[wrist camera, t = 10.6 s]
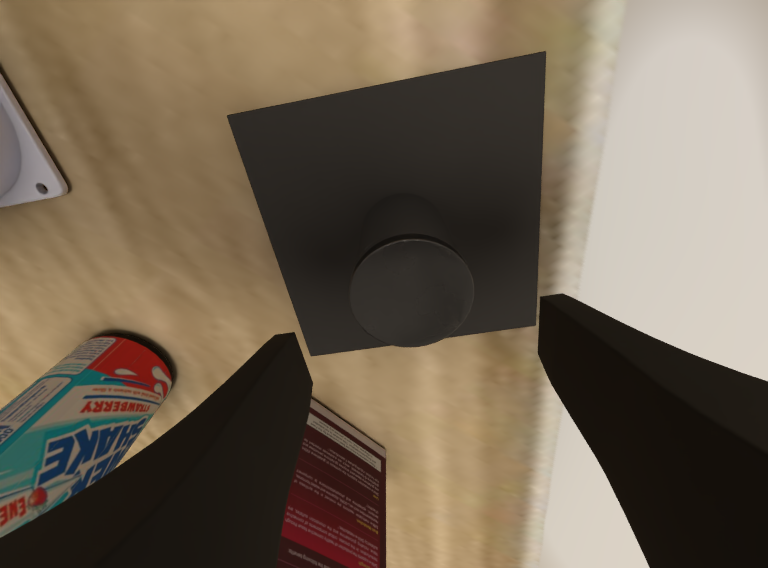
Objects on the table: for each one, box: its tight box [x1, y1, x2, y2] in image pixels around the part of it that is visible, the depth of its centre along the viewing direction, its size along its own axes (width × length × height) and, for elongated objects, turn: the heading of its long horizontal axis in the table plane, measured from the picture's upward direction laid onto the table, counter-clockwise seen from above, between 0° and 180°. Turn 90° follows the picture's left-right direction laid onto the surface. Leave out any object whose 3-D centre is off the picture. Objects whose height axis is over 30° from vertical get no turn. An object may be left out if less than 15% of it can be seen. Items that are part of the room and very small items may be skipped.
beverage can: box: [0, 334, 173, 538], centre depth 16 cm, size 6×6×15 cm
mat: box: [227, 51, 546, 356], centre depth 18 cm, size 14×14×1 cm
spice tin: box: [349, 193, 474, 347], centre depth 15 cm, size 4×4×6 cm
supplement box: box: [277, 398, 386, 568], centre depth 19 cm, size 9×5×16 cm, turn 43°
